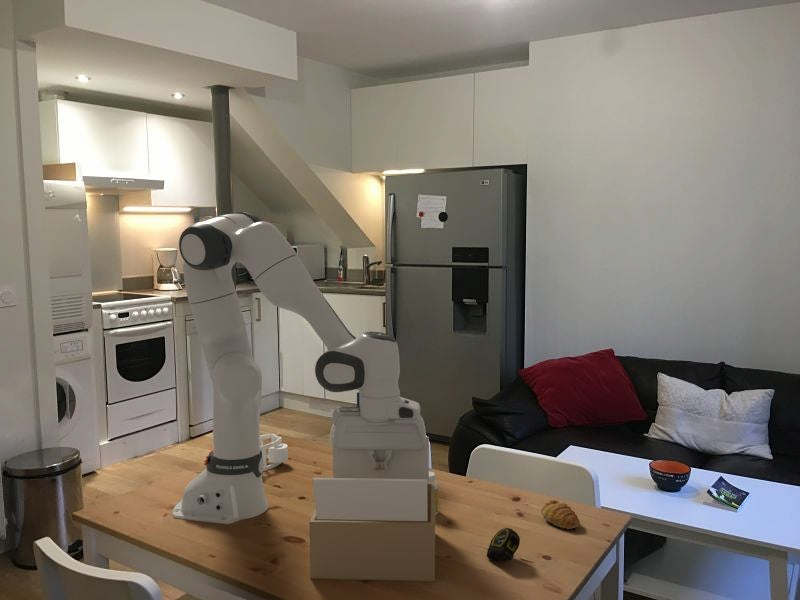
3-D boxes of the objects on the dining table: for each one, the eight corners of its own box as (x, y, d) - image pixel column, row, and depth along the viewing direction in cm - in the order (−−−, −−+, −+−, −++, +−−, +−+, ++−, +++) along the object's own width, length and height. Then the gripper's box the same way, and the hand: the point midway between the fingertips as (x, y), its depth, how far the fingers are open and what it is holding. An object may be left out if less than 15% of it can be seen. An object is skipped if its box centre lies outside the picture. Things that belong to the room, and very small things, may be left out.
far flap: (428, 481, 151) (428, 480, 151) (428, 437, 149) (428, 436, 150) (333, 479, 152) (333, 478, 152) (332, 436, 150) (332, 435, 151)
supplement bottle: (436, 518, 161) (436, 478, 160) (413, 516, 162) (413, 476, 161) (439, 509, 167) (439, 470, 166) (417, 507, 168) (417, 469, 167)
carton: (310, 581, 132) (309, 521, 131) (328, 532, 154) (327, 480, 153) (434, 584, 131) (434, 524, 129) (435, 534, 152) (435, 482, 151)
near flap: (317, 517, 131) (316, 519, 131) (313, 477, 127) (312, 479, 126) (427, 519, 130) (427, 521, 130) (427, 479, 126) (427, 481, 125)
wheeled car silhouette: (247, 483, 185) (246, 457, 184) (218, 475, 191) (217, 450, 190) (296, 462, 202) (295, 438, 201) (268, 456, 208) (267, 432, 207)
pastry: (586, 528, 155) (588, 512, 155) (563, 533, 152) (564, 516, 152) (559, 512, 164) (560, 497, 163) (537, 516, 160) (538, 501, 160)
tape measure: (495, 565, 140) (481, 554, 140) (510, 537, 144) (497, 526, 144) (513, 565, 135) (499, 553, 134) (528, 536, 138) (515, 524, 138)
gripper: (329, 409, 146) (330, 473, 147) (425, 410, 144) (425, 474, 146) (334, 402, 152) (335, 463, 153) (426, 403, 151) (426, 464, 152)
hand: (380, 468), depth 149 cm, fingers closed, pressing on far flap
